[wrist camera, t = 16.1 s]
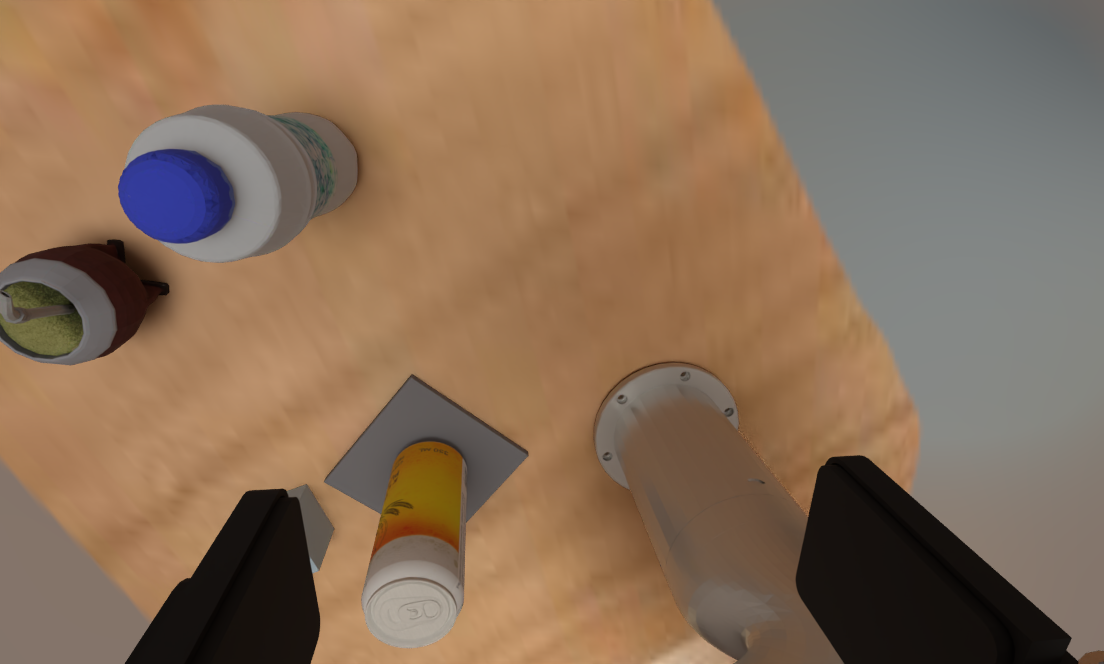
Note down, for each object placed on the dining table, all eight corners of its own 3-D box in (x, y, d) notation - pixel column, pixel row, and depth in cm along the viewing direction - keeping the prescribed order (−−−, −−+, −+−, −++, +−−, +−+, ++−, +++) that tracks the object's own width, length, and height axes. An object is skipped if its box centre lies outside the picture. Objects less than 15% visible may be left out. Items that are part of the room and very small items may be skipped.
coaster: (527, 451, 48) (528, 455, 48) (442, 543, 51) (442, 548, 50) (411, 374, 44) (410, 377, 44) (325, 477, 47) (323, 481, 46)
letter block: (251, 503, 47) (225, 545, 42) (307, 483, 47) (287, 523, 42) (281, 548, 49) (260, 593, 44) (335, 529, 49) (320, 572, 44)
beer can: (386, 442, 45) (346, 585, 32) (461, 430, 46) (454, 567, 32) (401, 502, 48) (370, 661, 34) (472, 491, 48) (470, 643, 34)
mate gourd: (71, 323, 40) (-149, 433, 26) (56, 213, 37) (-196, 269, 23) (185, 335, 41) (33, 446, 27) (178, 229, 39) (7, 292, 25)
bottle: (245, 126, 37) (5, 134, 18) (343, 96, 37) (202, 74, 18) (290, 224, 39) (120, 319, 21) (382, 196, 39) (293, 266, 21)
